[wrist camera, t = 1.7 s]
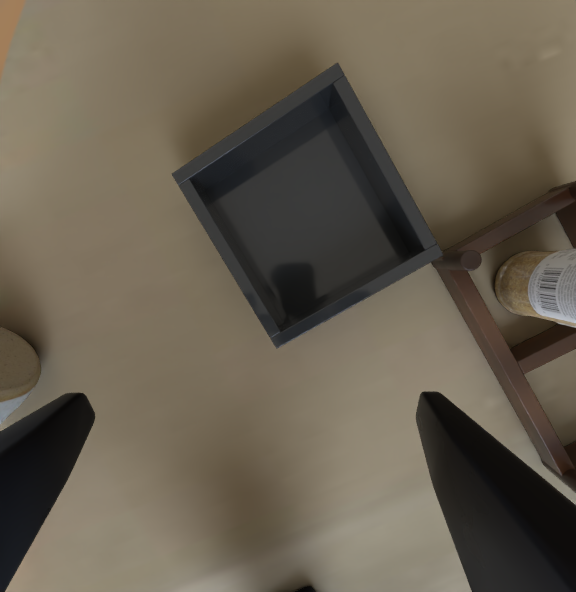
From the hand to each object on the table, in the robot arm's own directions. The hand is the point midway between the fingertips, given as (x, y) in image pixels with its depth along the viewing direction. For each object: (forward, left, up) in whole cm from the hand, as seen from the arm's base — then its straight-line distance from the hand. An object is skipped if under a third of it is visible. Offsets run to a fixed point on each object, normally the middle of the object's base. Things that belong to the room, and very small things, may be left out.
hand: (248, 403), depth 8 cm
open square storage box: (+5, -5, -14) cm, 16 cm away
